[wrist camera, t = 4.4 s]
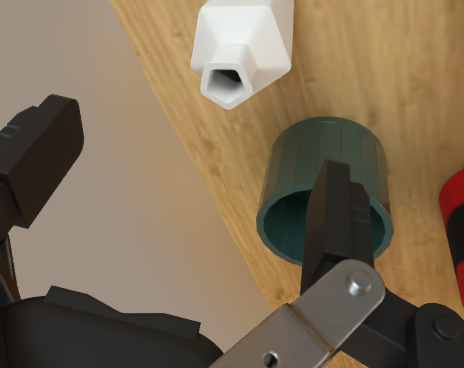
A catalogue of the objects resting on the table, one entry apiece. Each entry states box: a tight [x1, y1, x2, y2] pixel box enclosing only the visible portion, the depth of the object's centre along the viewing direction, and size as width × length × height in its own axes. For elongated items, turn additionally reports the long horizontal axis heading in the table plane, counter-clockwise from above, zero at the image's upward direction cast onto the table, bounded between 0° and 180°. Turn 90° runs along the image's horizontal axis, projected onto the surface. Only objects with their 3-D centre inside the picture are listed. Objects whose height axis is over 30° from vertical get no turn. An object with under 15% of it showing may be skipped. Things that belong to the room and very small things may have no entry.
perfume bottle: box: [191, 0, 294, 110], centre depth 21 cm, size 5×4×15 cm
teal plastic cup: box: [256, 117, 394, 266], centre depth 35 cm, size 14×10×8 cm
